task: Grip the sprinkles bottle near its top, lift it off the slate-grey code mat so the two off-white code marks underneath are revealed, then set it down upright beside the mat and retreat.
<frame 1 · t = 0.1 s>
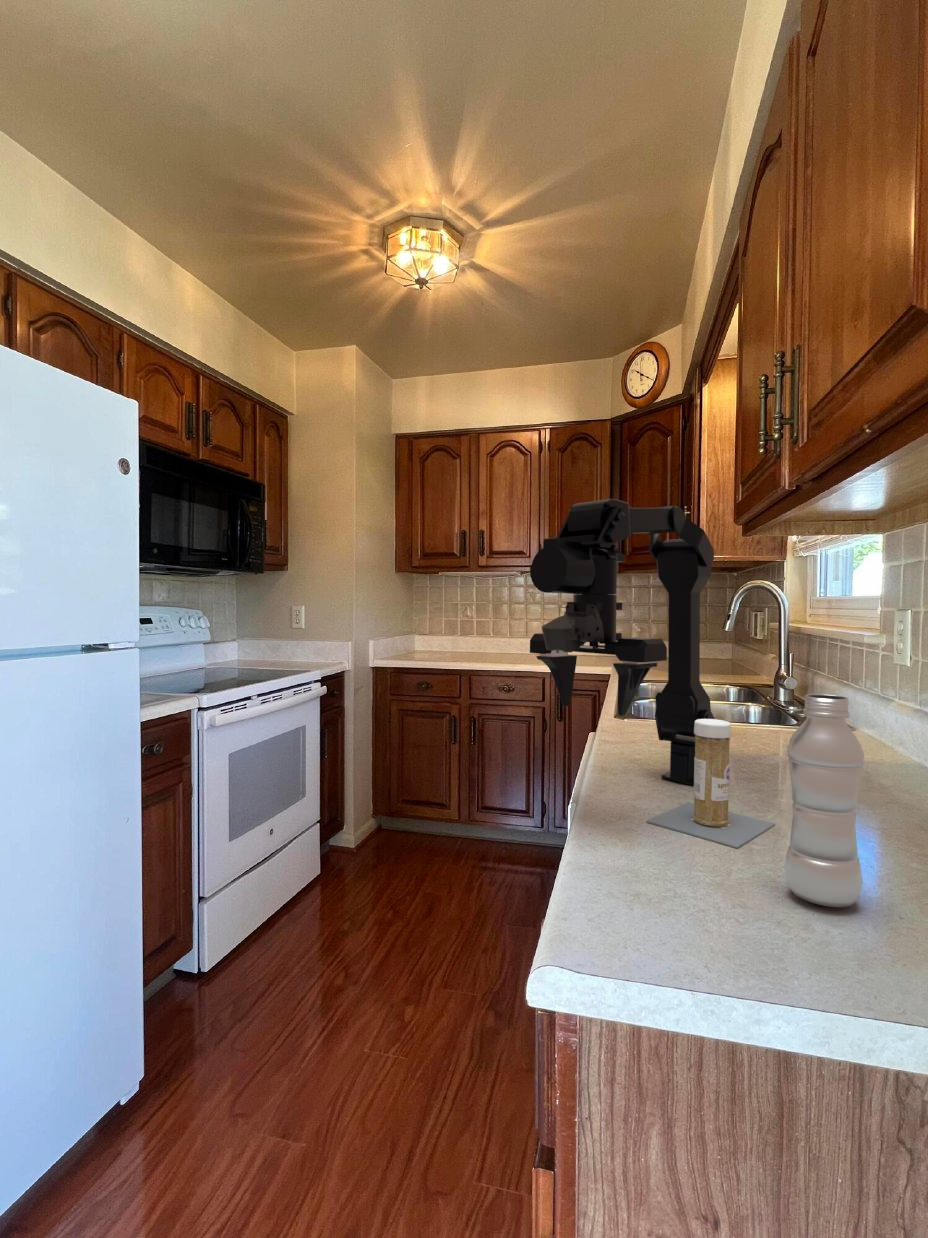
hand: (592, 710, 83), 14 cm above the counter, fingers open, 9 cm apart
code mat: (710, 823, 82), on the counter
plastic bottle: (821, 902, 60), on the counter
sprinkles bottle: (710, 823, 82), resting on code mat
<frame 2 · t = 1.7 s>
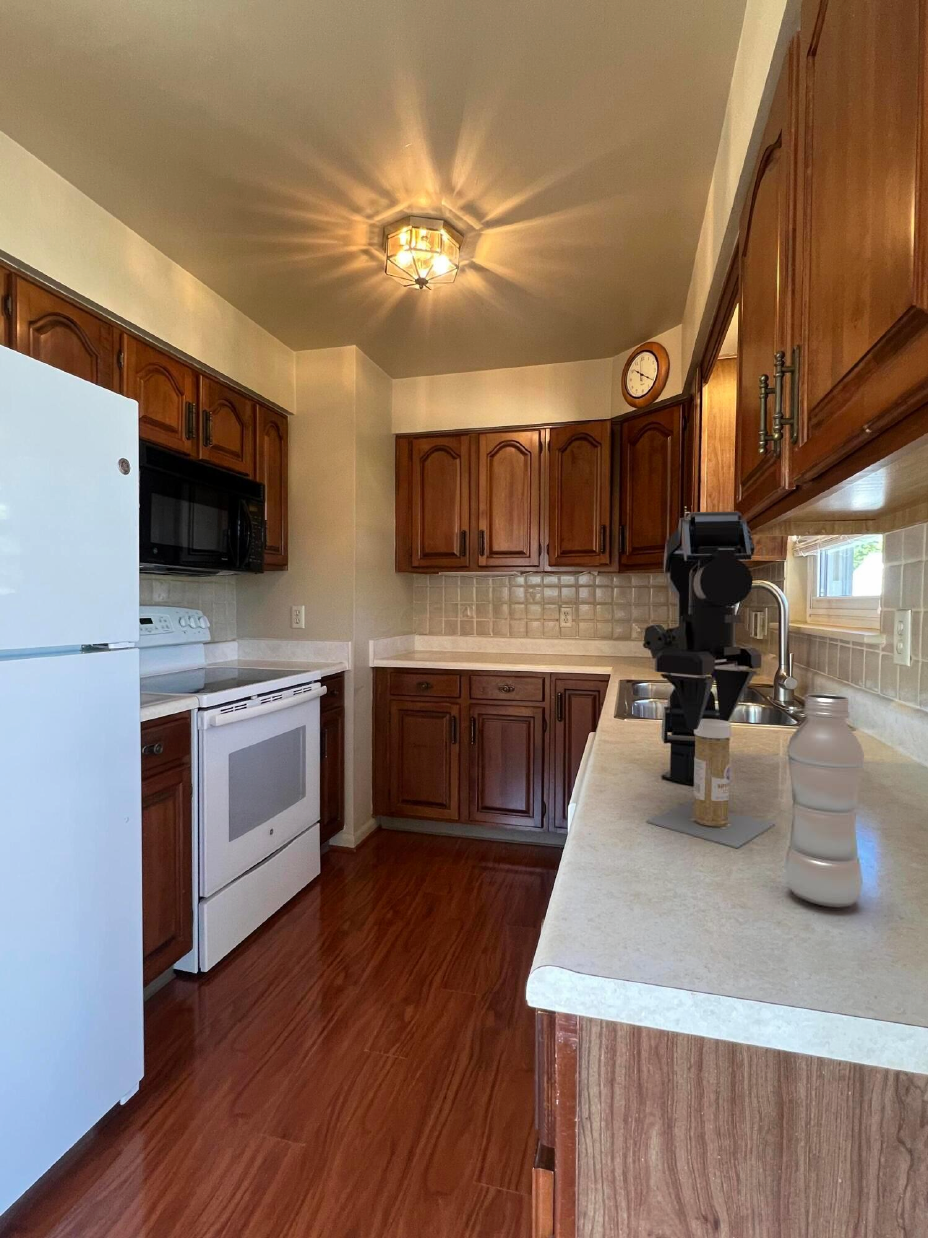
hand: (709, 724, 82), 13 cm above the counter, fingers open, 9 cm apart
nothing on the counter moved.
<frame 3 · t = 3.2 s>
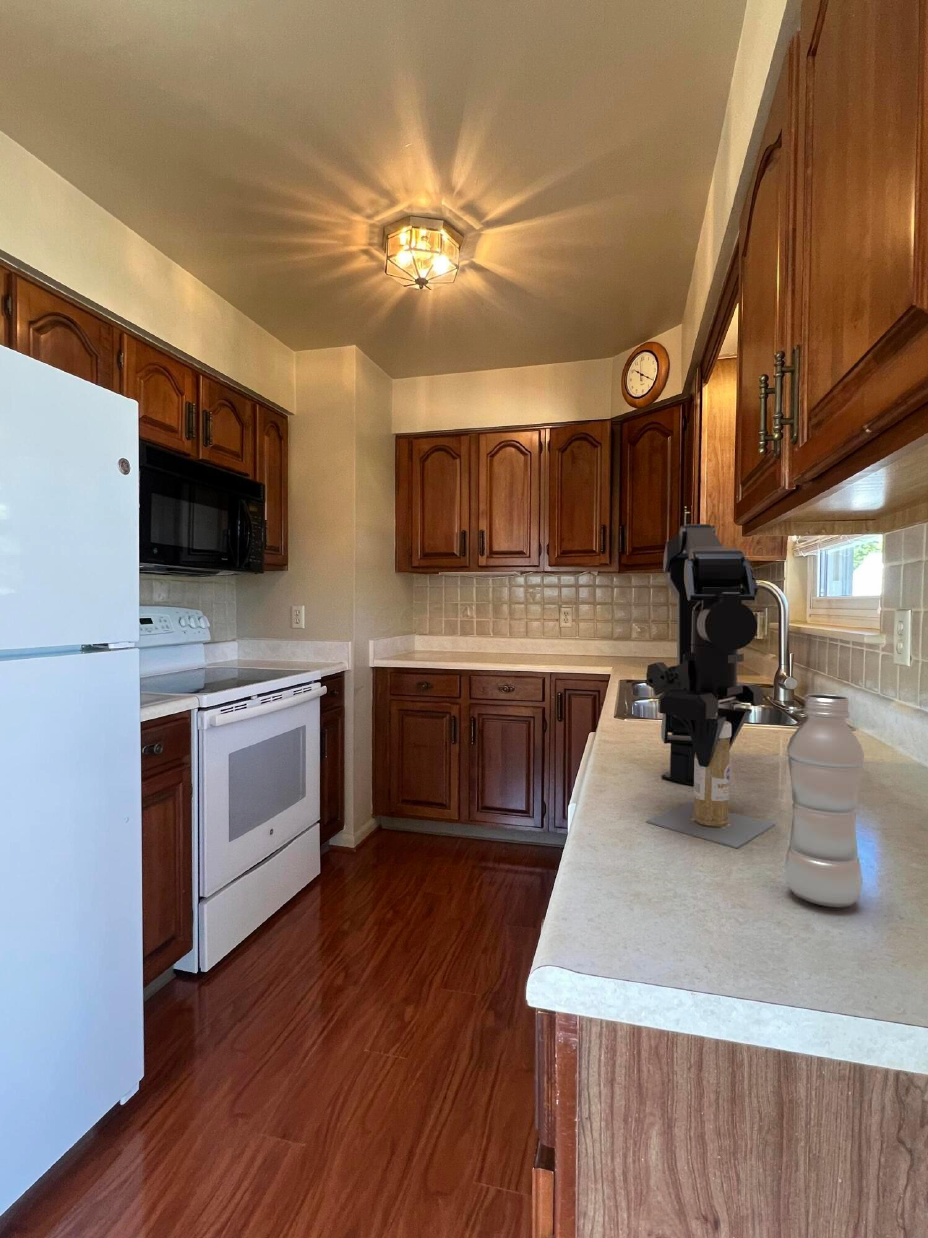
hand: (711, 763, 82), 8 cm above the counter, fingers closed on sprinkles bottle, 4 cm apart
sprinkles bottle: (710, 823, 82), resting on code mat, touching gripper
everything else where it was.
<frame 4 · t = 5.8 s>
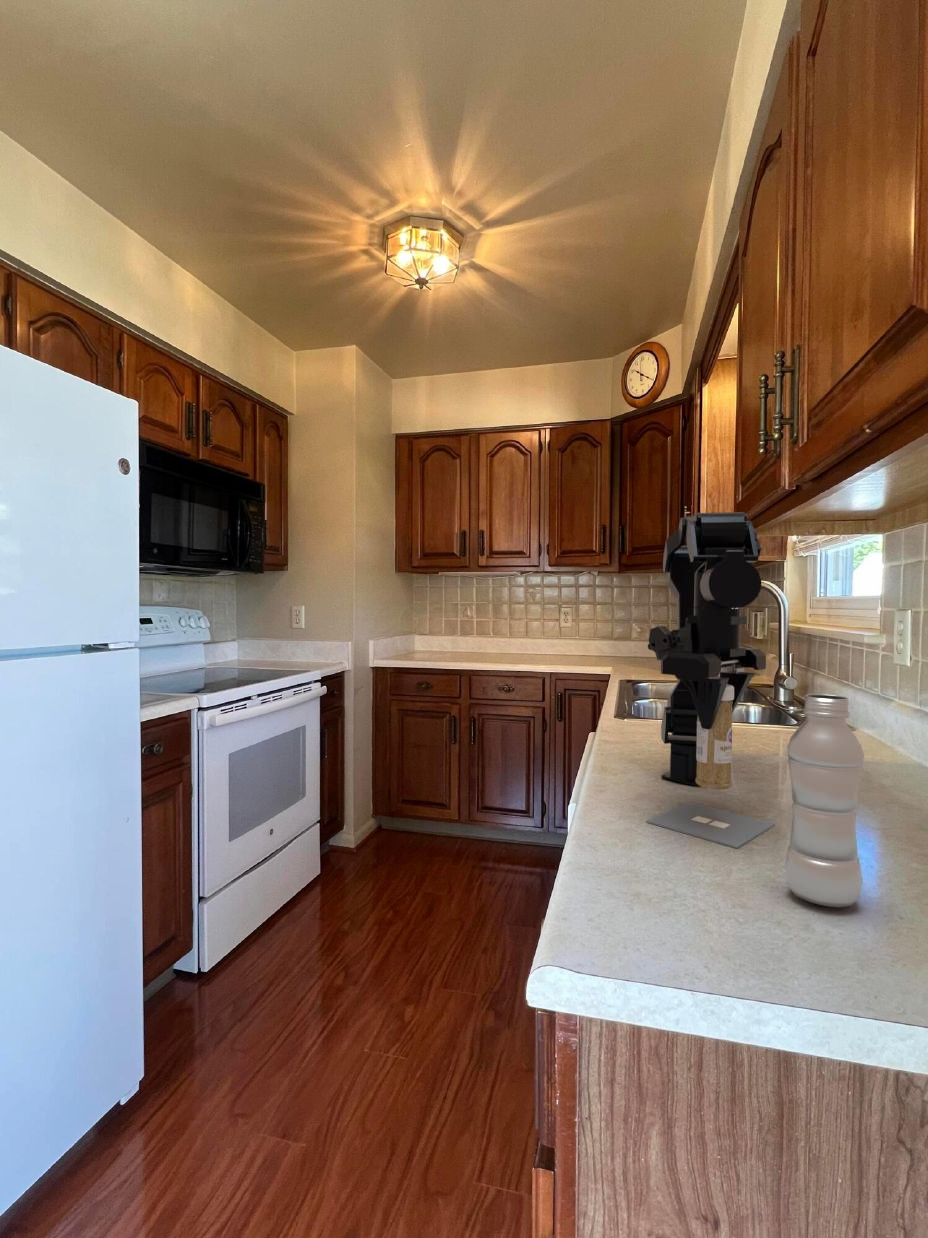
hand: (714, 726, 81), 13 cm above the counter, fingers closed on sprinkles bottle, 4 cm apart
sprinkles bottle: (713, 787, 82), point 5 cm above the counter, touching gripper
everything else where it was.
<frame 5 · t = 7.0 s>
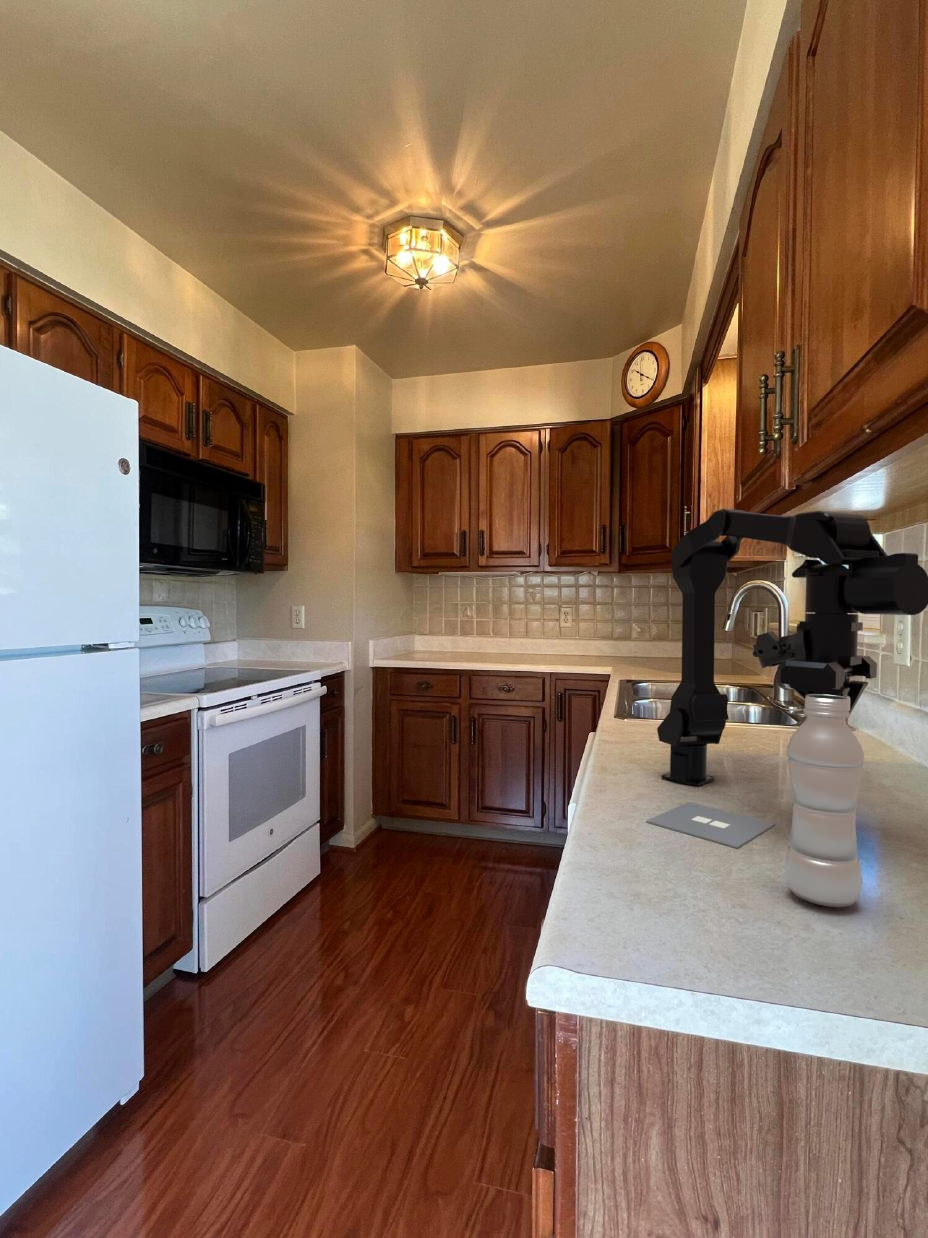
hand: (827, 738, 77), 12 cm above the counter, fingers closed on sprinkles bottle, 4 cm apart
sprinkles bottle: (825, 802, 77), point 4 cm above the counter, touching gripper
everything else where it was.
when the fingers open (9 cm above the counter, at t = 8.2 s): sprinkles bottle drops 1 cm, on the counter.
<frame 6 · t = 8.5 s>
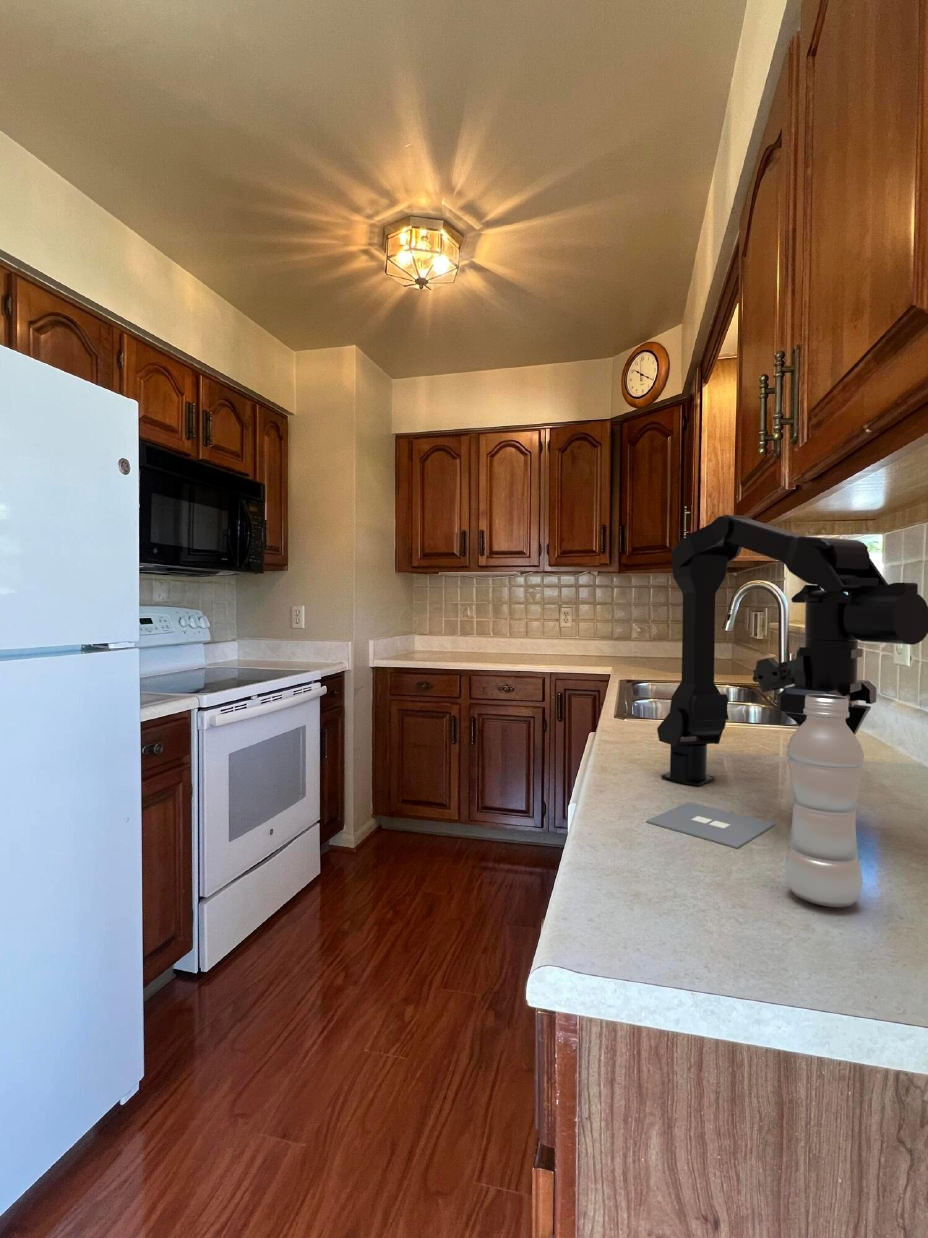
hand: (827, 764, 77), 9 cm above the counter, fingers open, 7 cm apart
sprinkles bottle: (824, 839, 77), on the counter
everything else where it was.
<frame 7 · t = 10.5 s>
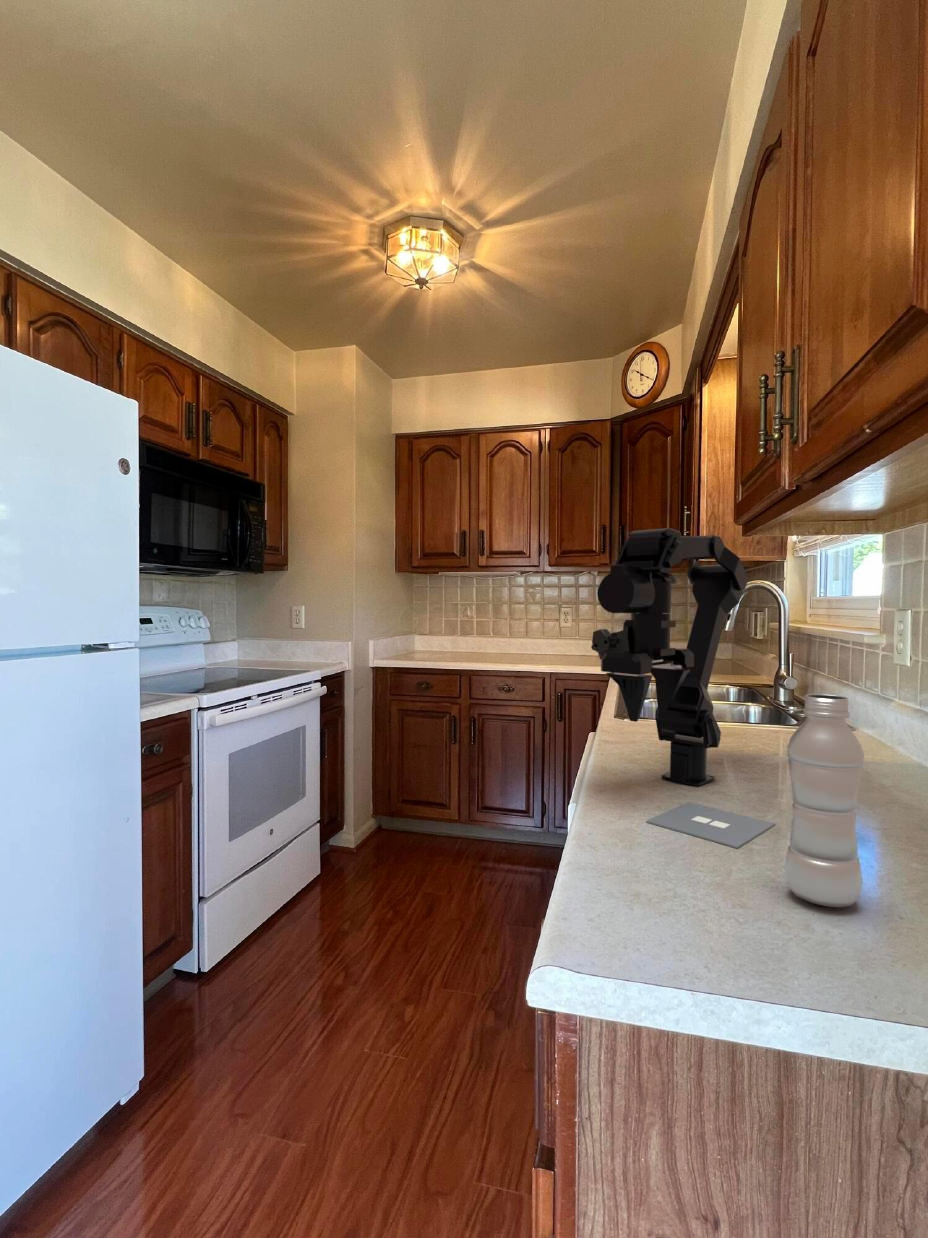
hand: (648, 717, 93), 12 cm above the counter, fingers open, 9 cm apart
nothing on the counter moved.
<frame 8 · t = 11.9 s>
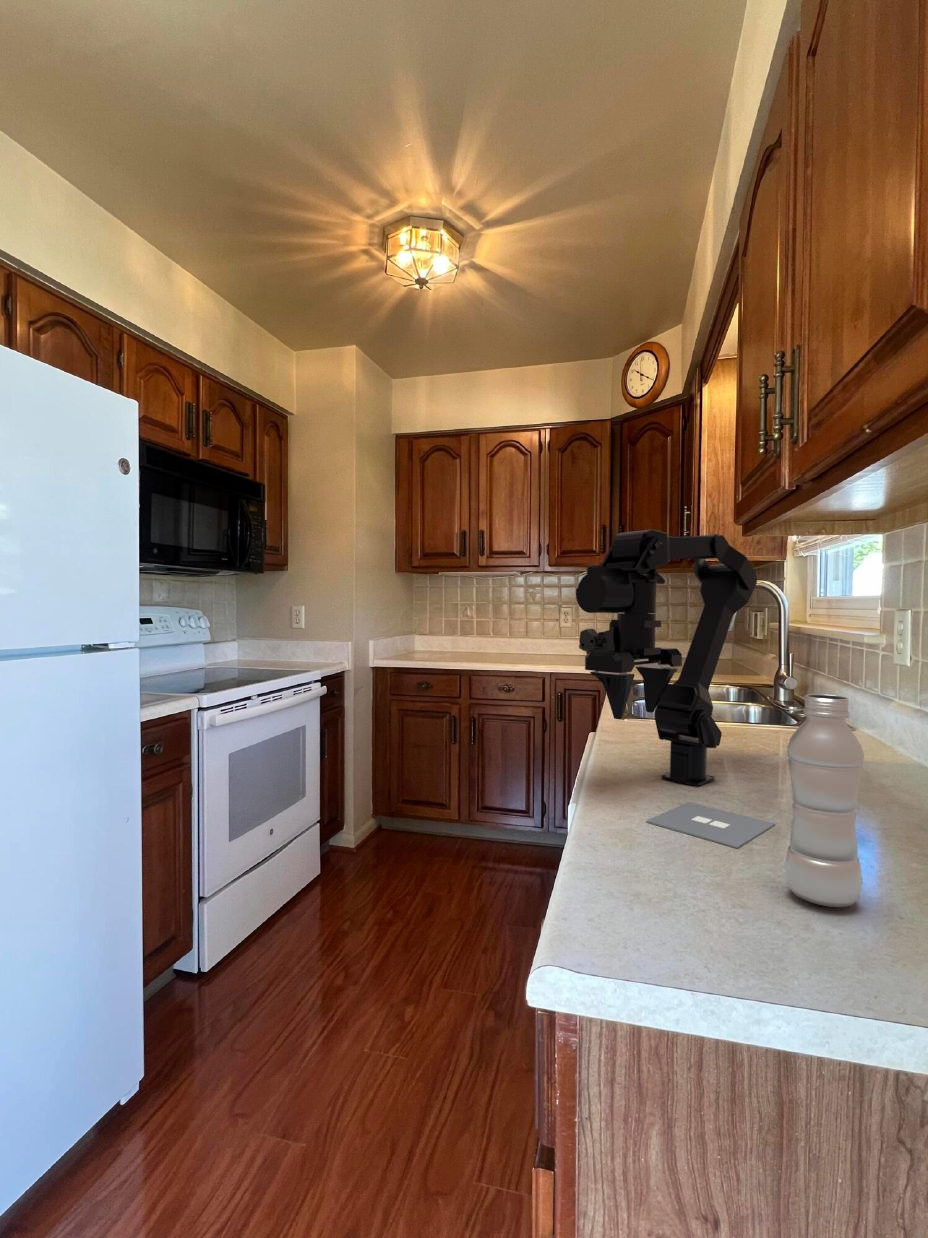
hand: (634, 715, 94), 12 cm above the counter, fingers open, 9 cm apart
nothing on the counter moved.
at the end: sprinkles bottle 0.1 cm from the target spot, on the counter; sprinkles bottle tilted 0°; the gripper is holding nothing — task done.
